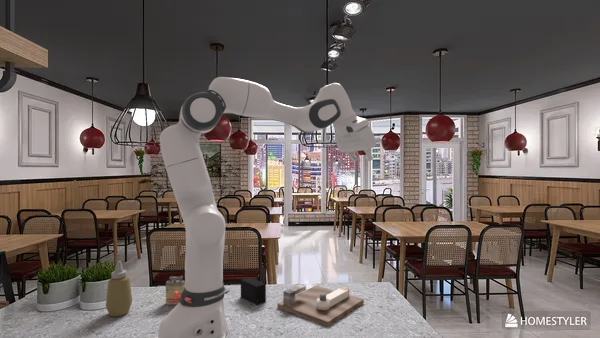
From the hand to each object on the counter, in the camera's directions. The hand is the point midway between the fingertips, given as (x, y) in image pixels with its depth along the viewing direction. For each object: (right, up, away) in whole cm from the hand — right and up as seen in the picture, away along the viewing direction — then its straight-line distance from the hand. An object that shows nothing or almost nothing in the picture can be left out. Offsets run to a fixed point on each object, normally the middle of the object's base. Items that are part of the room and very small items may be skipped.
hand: (362, 160), depth 121 cm
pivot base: (-15, -53, -1) cm, 55 cm away
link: (-11, -51, -1) cm, 52 cm away
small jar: (-69, -53, +2) cm, 87 cm away
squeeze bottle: (-85, -53, -7) cm, 101 cm away
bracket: (-57, -53, +15) cm, 79 cm away
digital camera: (-40, -53, +5) cm, 67 cm away
